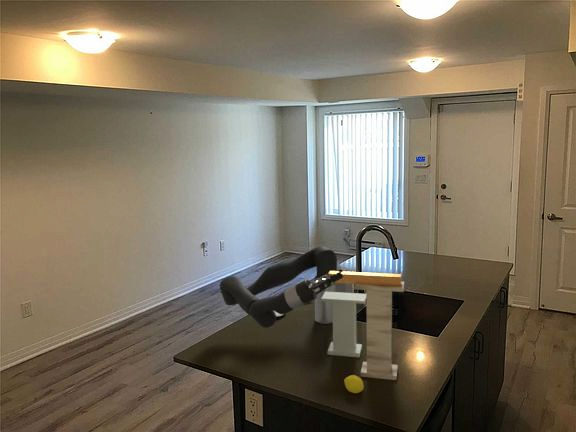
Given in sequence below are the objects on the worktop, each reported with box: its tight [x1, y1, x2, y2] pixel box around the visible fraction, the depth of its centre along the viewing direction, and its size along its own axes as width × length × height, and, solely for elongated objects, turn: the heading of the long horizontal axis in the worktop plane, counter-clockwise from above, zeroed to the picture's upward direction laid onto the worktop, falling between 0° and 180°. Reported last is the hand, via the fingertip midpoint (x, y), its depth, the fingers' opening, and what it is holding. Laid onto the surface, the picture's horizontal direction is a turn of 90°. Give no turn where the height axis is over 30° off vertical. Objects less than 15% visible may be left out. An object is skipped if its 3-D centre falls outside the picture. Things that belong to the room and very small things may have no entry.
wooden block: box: [328, 270, 402, 286], centre depth 161 cm, size 3×24×3 cm, turn 75°
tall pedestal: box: [353, 280, 405, 381], centre depth 163 cm, size 8×16×32 cm, turn 75°
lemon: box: [343, 374, 364, 394], centre depth 153 cm, size 7×5×5 cm
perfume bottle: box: [335, 268, 353, 293], centre depth 229 cm, size 7×7×18 cm
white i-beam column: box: [321, 292, 367, 358], centre depth 180 cm, size 8×16×22 cm, turn 75°
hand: (342, 273), depth 163 cm, fingers closed on wooden block, 3 cm apart
